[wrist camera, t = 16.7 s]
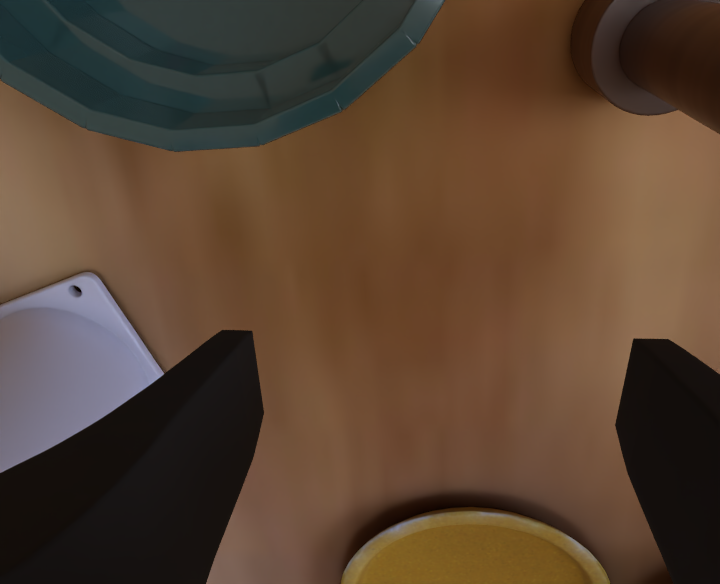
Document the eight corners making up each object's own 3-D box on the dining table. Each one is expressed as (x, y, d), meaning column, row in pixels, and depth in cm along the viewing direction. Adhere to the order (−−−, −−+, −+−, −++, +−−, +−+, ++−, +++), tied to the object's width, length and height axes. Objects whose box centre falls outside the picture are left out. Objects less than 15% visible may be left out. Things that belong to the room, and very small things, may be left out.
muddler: (569, 104, 19) (716, 252, 9) (570, -24, 17) (749, -5, 8) (692, 88, 18) (984, 228, 9) (706, -46, 17) (1083, -56, 7)
